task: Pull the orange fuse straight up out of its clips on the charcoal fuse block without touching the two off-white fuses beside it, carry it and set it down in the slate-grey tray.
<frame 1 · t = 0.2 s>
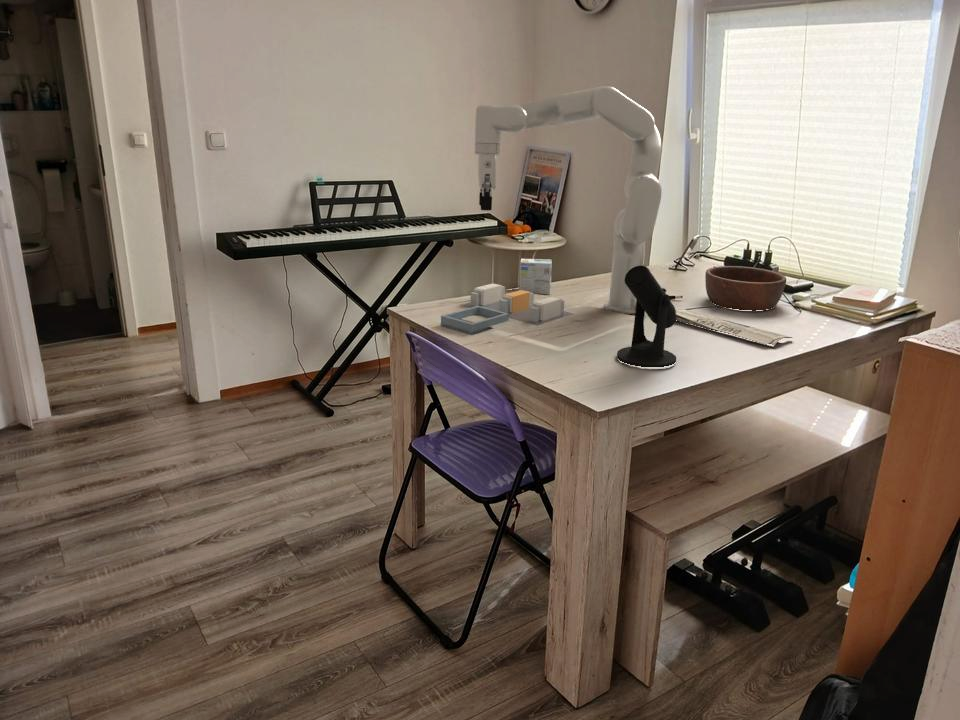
hand: (485, 207, 233), 30 cm above the table, tool pointing down, fingers open, 9 cm apart
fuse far: (487, 302, 243), point 1 cm above the table, touching fuse block
marked fuse: (516, 309, 236), point 1 cm above the table, touching fuse block
newspaper: (723, 332, 224), on the table
light bulb box: (534, 292, 261), on the table
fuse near: (546, 316, 229), point 1 cm above the table, touching fuse block
fuse block: (516, 312, 236), on the table
tray: (475, 324, 222), on the table
wooden bowl: (741, 305, 253), on the table
microphone: (645, 361, 197), on the table
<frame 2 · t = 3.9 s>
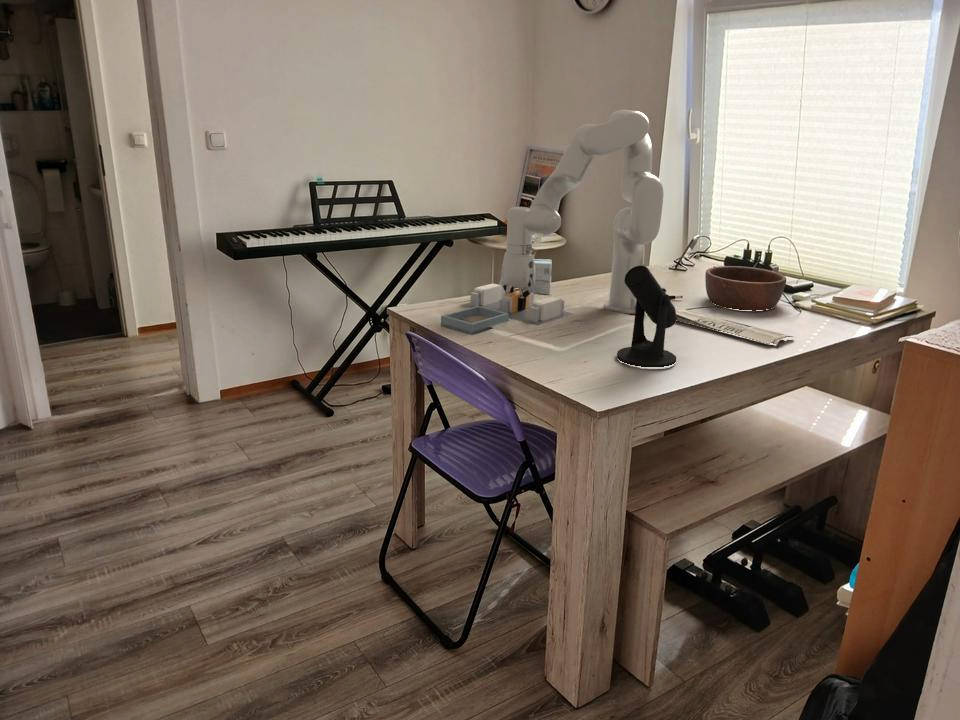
hand: (516, 308, 235), 1 cm above the table, tool pointing down, fingers closed on marked fuse, 3 cm apart
marked fuse: (516, 309, 236), point 1 cm above the table, touching fuse block, gripper
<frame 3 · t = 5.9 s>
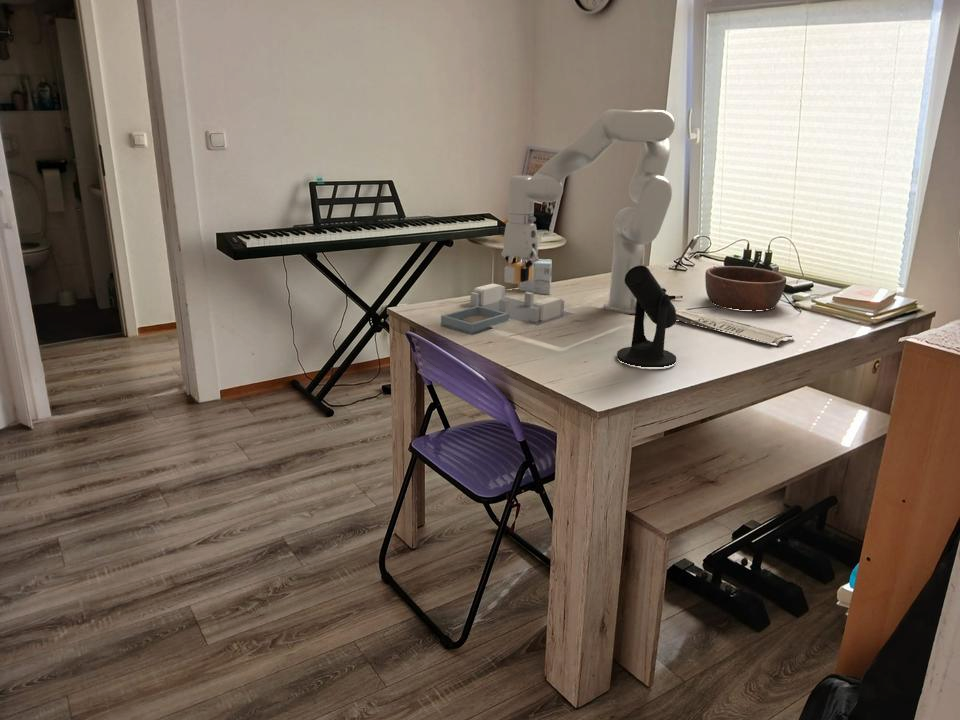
hand: (518, 279, 233), 10 cm above the table, tool pointing down, fingers closed on marked fuse, 3 cm apart
marked fuse: (518, 280, 233), point 10 cm above the table, touching gripper
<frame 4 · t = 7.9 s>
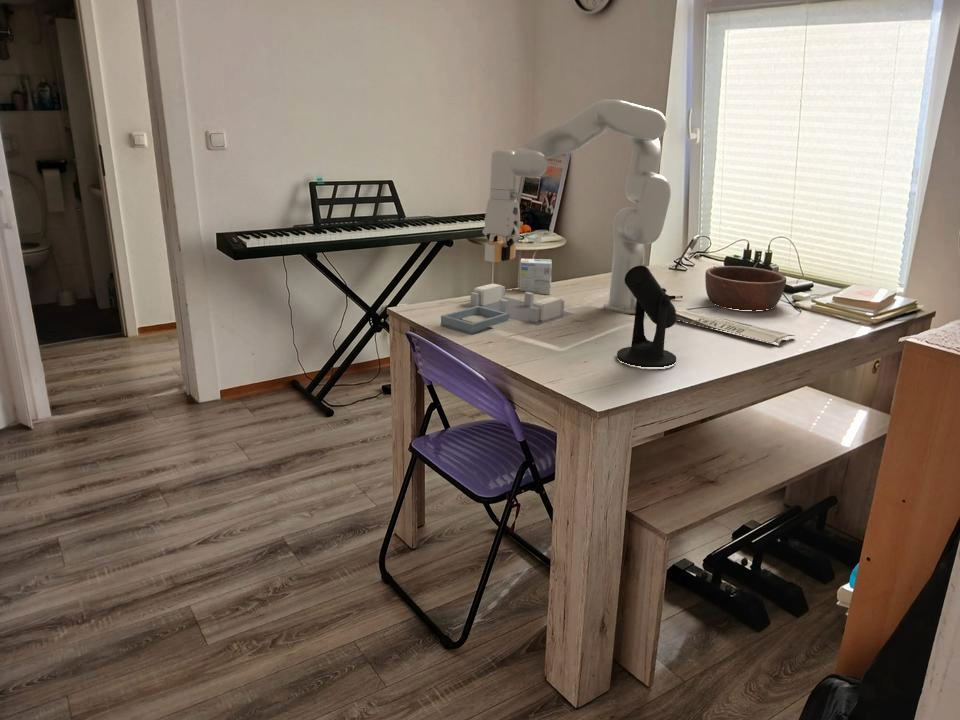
hand: (499, 258, 224), 18 cm above the table, tool pointing down, fingers closed on marked fuse, 3 cm apart
marked fuse: (500, 259, 224), point 18 cm above the table, touching gripper
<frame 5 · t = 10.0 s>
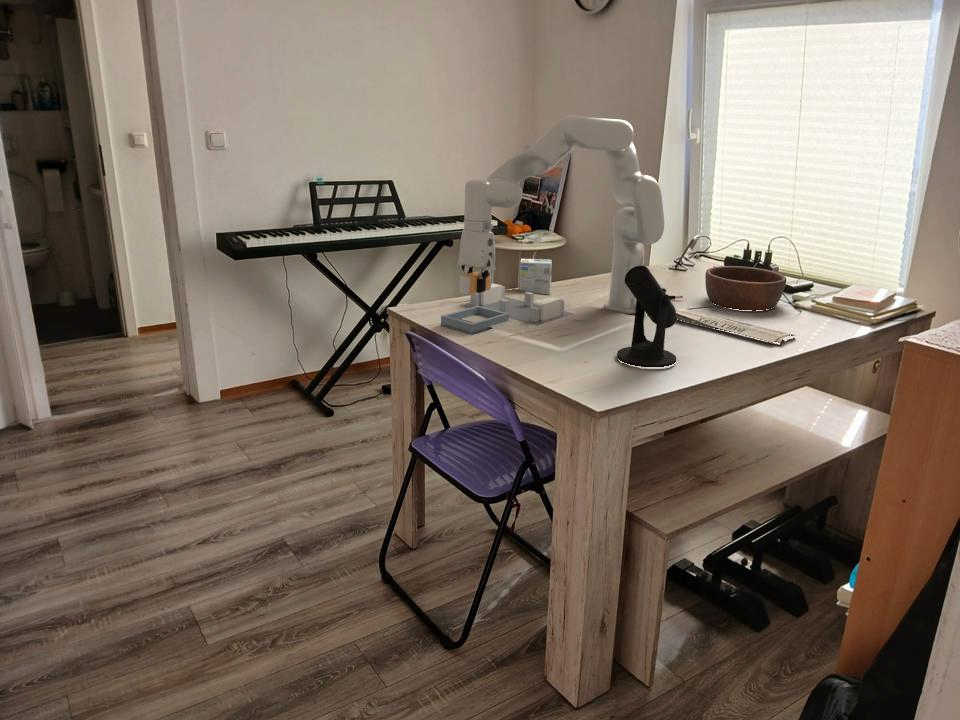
hand: (475, 290, 219), 10 cm above the table, tool pointing down, fingers closed on marked fuse, 3 cm apart
marked fuse: (475, 291, 219), point 10 cm above the table, touching gripper
when the fingers open (3 cm above the table, at t = 12.0 s): marked fuse drops 2 cm, resting on tray.
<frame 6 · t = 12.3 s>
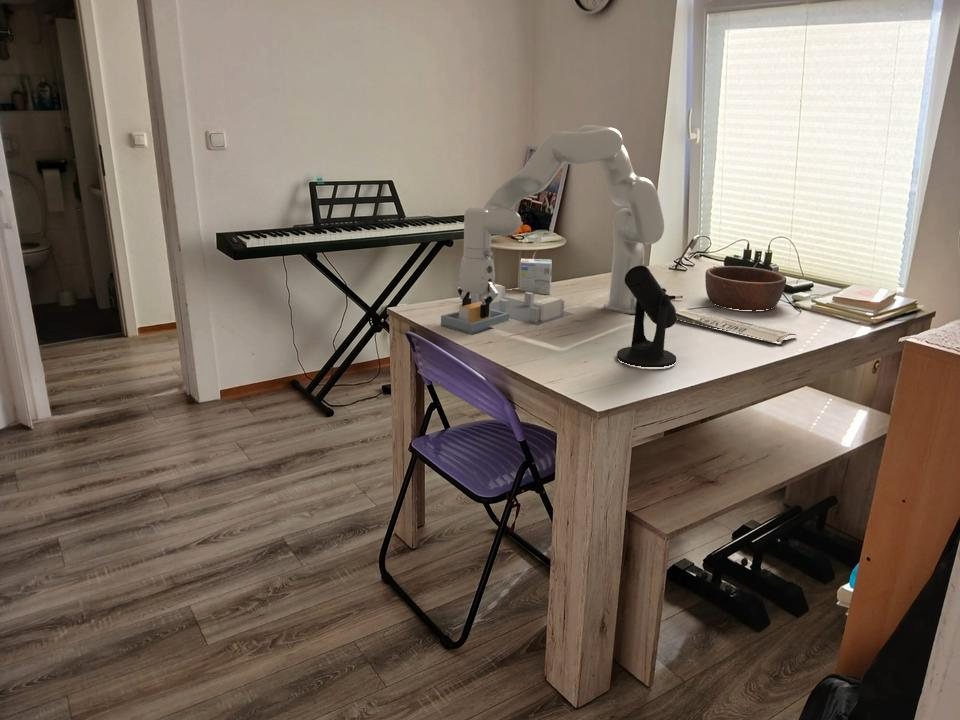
hand: (475, 314, 221), 3 cm above the table, tool pointing down, fingers open, 6 cm apart
marked fuse: (474, 321, 222), point 1 cm above the table, touching tray
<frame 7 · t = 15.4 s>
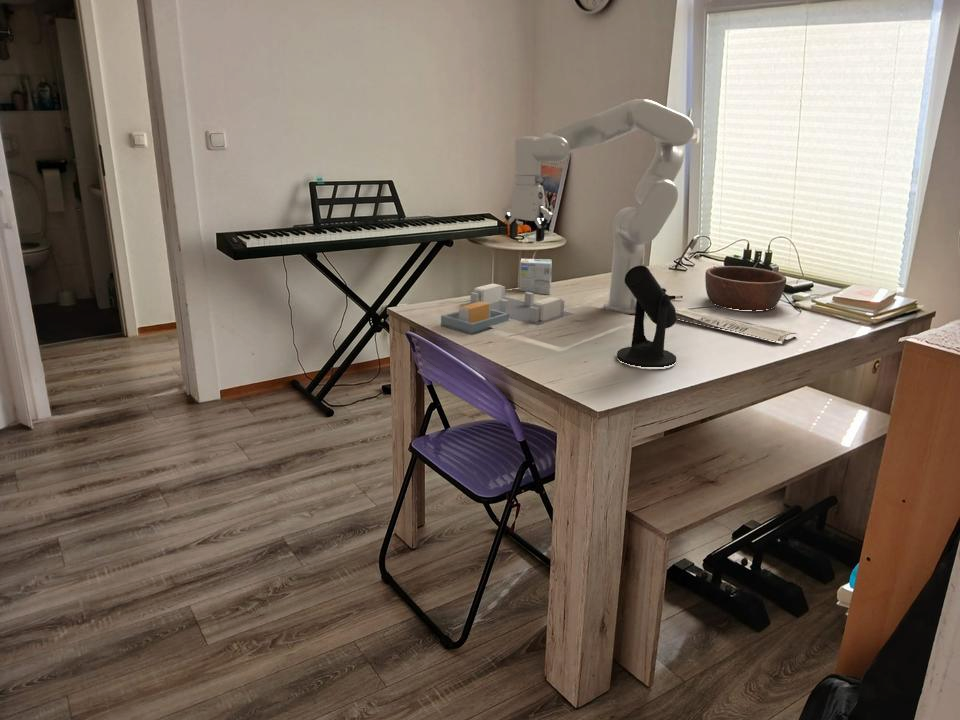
hand: (526, 239, 230), 22 cm above the table, tool pointing down, fingers open, 9 cm apart
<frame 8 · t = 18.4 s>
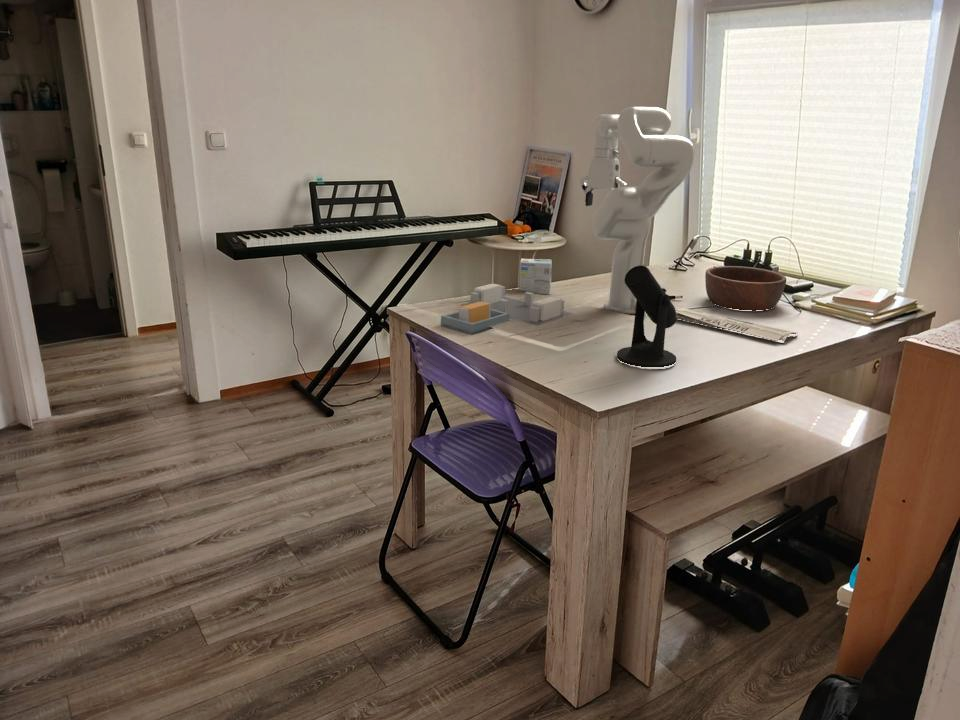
hand: (601, 207, 256), 28 cm above the table, tool pointing down, fingers open, 9 cm apart
at the end: marked fuse inside the target area on the tray (0.2 cm from its centre), point 0.8 cm above the tray's base; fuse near moved 0.0 cm from its start; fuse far moved 0.0 cm from its start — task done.
